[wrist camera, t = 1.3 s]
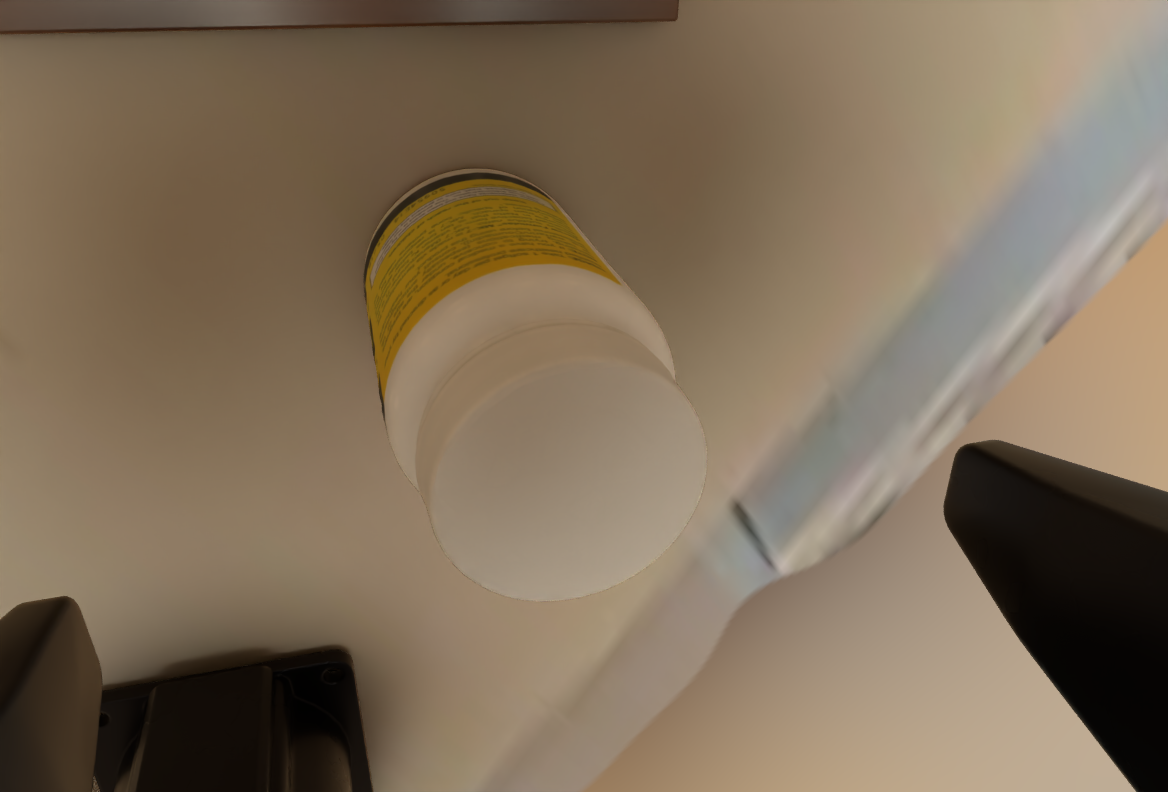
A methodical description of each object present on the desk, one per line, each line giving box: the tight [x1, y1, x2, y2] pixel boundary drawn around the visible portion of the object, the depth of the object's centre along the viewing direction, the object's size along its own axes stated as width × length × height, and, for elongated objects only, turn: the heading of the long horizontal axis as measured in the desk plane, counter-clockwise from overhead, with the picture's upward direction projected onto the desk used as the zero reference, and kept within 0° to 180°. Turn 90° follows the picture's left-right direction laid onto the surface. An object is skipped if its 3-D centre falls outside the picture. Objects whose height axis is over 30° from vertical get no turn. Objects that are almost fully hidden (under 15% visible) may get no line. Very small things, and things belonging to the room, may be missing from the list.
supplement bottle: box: [364, 168, 707, 602], centre depth 16 cm, size 5×5×8 cm
